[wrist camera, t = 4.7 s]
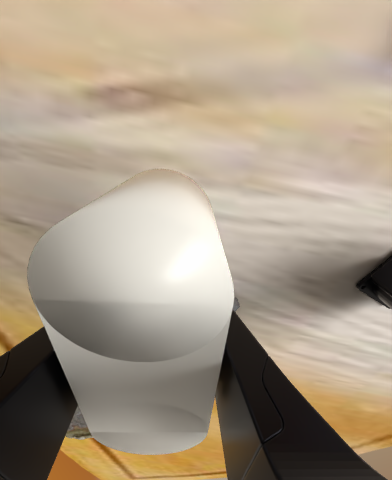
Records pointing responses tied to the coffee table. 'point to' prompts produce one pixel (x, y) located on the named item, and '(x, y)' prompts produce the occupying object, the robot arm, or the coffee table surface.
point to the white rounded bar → (138, 310)
